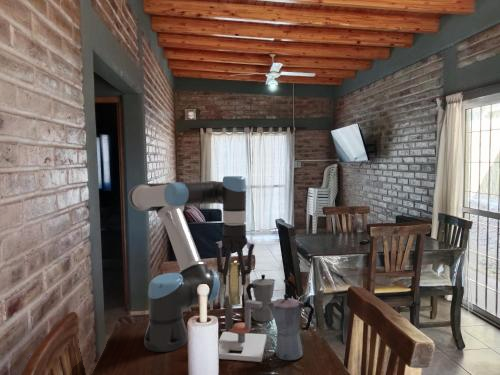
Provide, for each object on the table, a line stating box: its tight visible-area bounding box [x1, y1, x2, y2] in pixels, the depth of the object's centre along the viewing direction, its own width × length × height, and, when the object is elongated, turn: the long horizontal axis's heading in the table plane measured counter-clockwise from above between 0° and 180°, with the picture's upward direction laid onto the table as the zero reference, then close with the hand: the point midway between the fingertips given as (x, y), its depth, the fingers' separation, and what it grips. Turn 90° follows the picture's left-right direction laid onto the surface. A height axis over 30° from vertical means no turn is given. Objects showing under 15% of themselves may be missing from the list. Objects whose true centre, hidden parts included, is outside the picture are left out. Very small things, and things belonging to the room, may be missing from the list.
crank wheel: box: [224, 295, 263, 343], centre depth 123 cm, size 14×6×15 cm, turn 64°
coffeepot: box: [245, 274, 276, 323], centre depth 146 cm, size 15×9×18 cm, turn 129°
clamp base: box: [218, 331, 267, 363], centre depth 122 cm, size 16×16×2 cm
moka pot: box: [267, 293, 315, 361], centre depth 117 cm, size 10×15×20 cm, turn 81°
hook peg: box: [228, 259, 241, 306], centre depth 117 cm, size 4×4×14 cm
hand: (234, 293), depth 117 cm, fingers closed on hook peg, 3 cm apart
